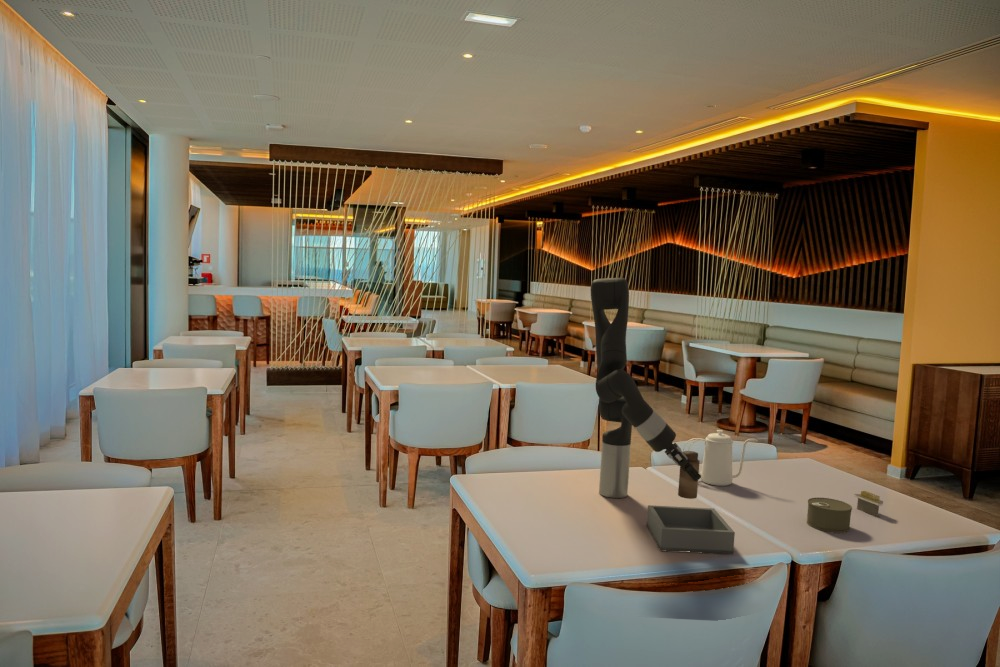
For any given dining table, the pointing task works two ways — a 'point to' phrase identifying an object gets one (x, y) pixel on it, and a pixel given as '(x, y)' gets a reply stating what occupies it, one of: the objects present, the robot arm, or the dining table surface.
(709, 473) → the coffeepot
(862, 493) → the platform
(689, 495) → the pepper mill
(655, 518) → the serving bin
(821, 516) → the can
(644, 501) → the dining table surface
